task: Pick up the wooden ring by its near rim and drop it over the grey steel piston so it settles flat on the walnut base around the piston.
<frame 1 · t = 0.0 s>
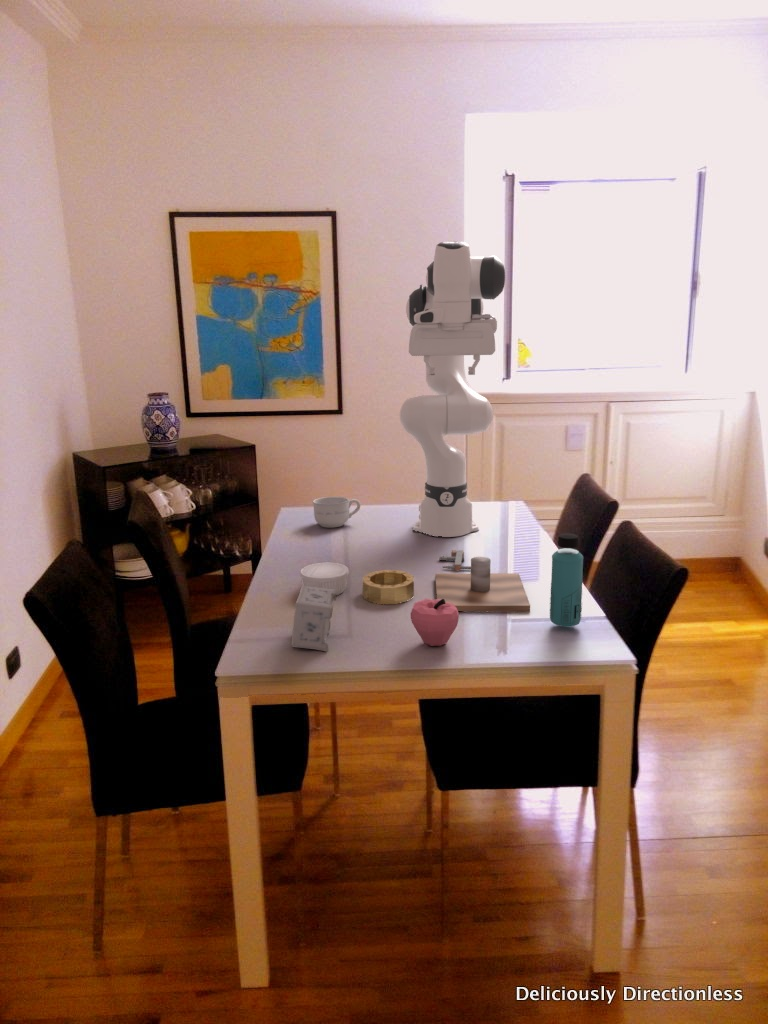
hand: (451, 374, 191), 48 cm above the table, tool pointing down, fingers open, 8 cm apart
clamp: (458, 568, 205), on the table
piston stand: (480, 594, 185), on the table
beverage bottle: (564, 628, 167), on the table
ramekin: (325, 591, 190), on the table
teacup: (337, 525, 241), on the table
apple: (434, 644, 161), on the table
incense holder: (315, 642, 163), on the table
wooden ring: (388, 595, 186), on the table
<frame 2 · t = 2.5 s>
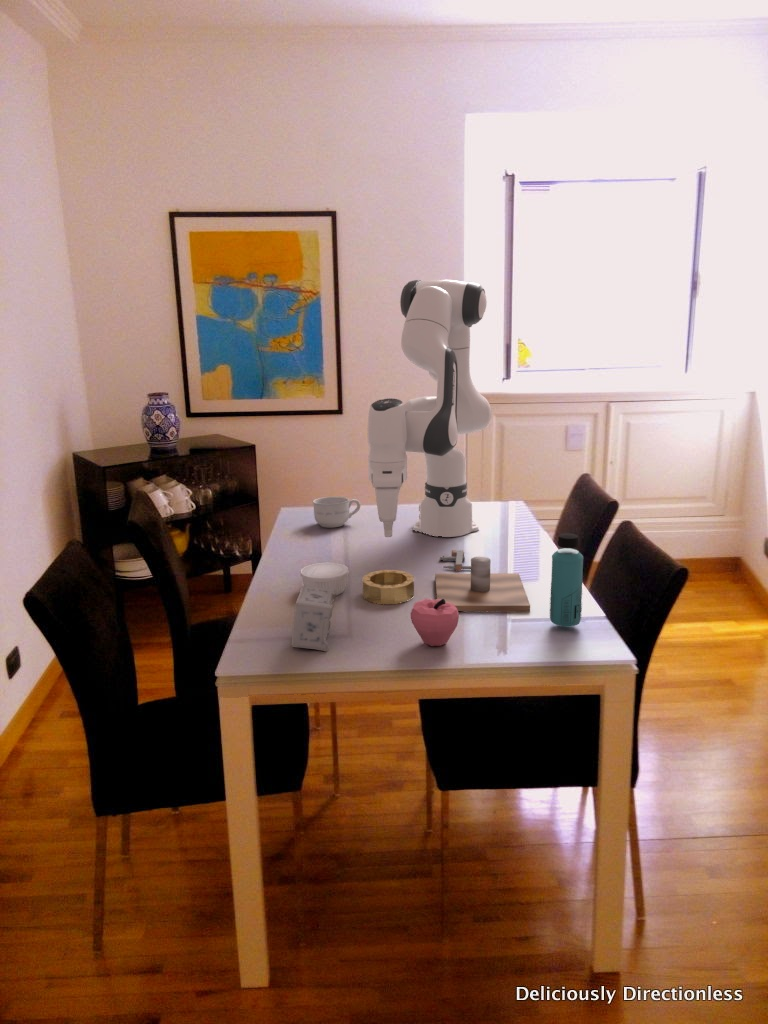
hand: (389, 530, 187), 14 cm above the table, tool pointing down, fingers open, 8 cm apart
nothing on the table moved.
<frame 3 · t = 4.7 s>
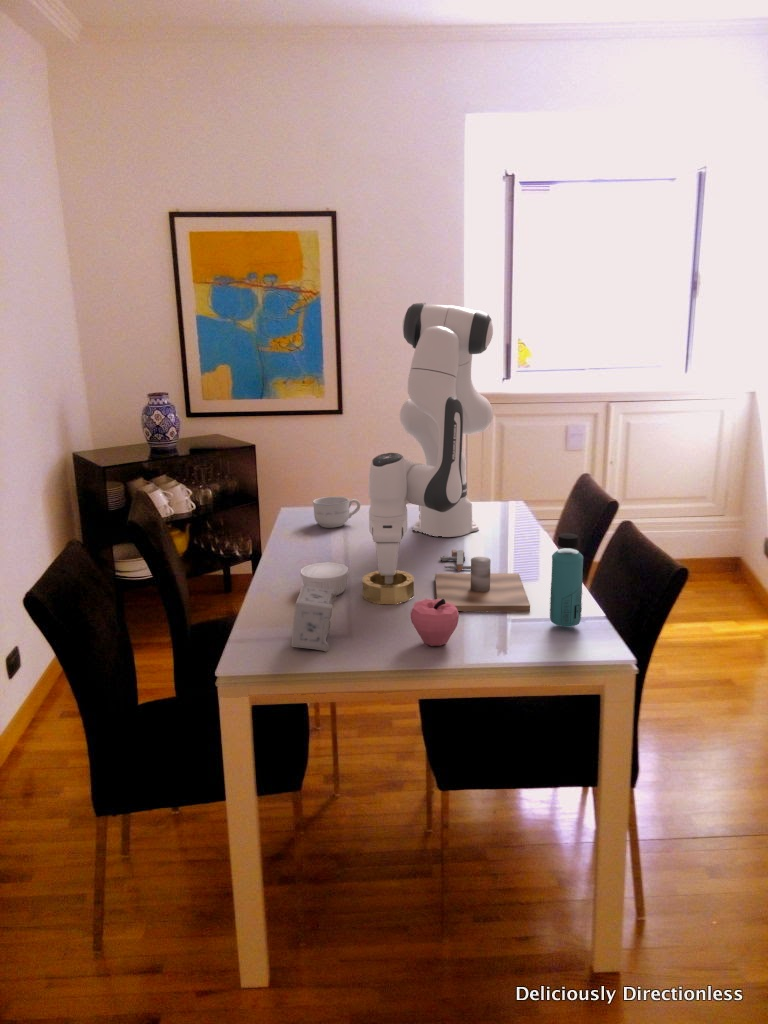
hand: (389, 580, 190), 2 cm above the table, tool pointing down, fingers closed on wooden ring, 2 cm apart
wooden ring: (388, 594, 186), on the table, touching gripper
everything else where it was.
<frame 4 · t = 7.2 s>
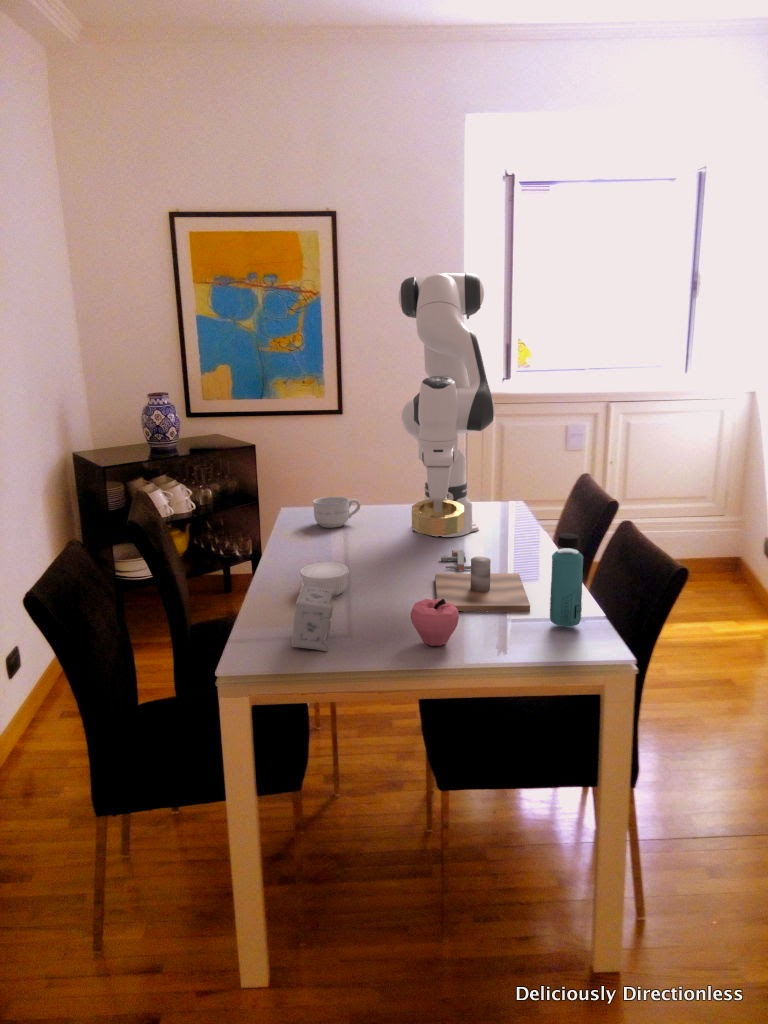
hand: (437, 509, 185), 19 cm above the table, tool pointing down, fingers closed on wooden ring
wooden ring: (437, 525, 181), point 17 cm above the table, tilted 6°, touching gripper
everything else where it was.
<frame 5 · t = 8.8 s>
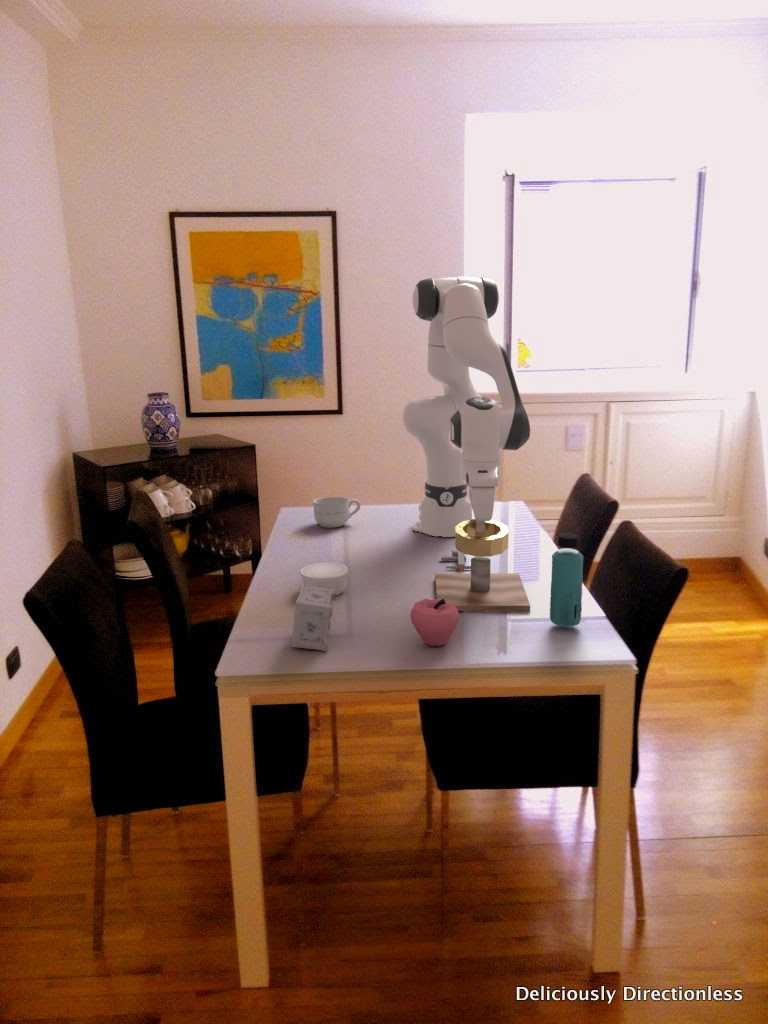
hand: (479, 529, 186), 14 cm above the table, tool pointing down, fingers closed on wooden ring
wooden ring: (481, 545, 182), point 12 cm above the table, tilted 7°, touching gripper
everything else where it was.
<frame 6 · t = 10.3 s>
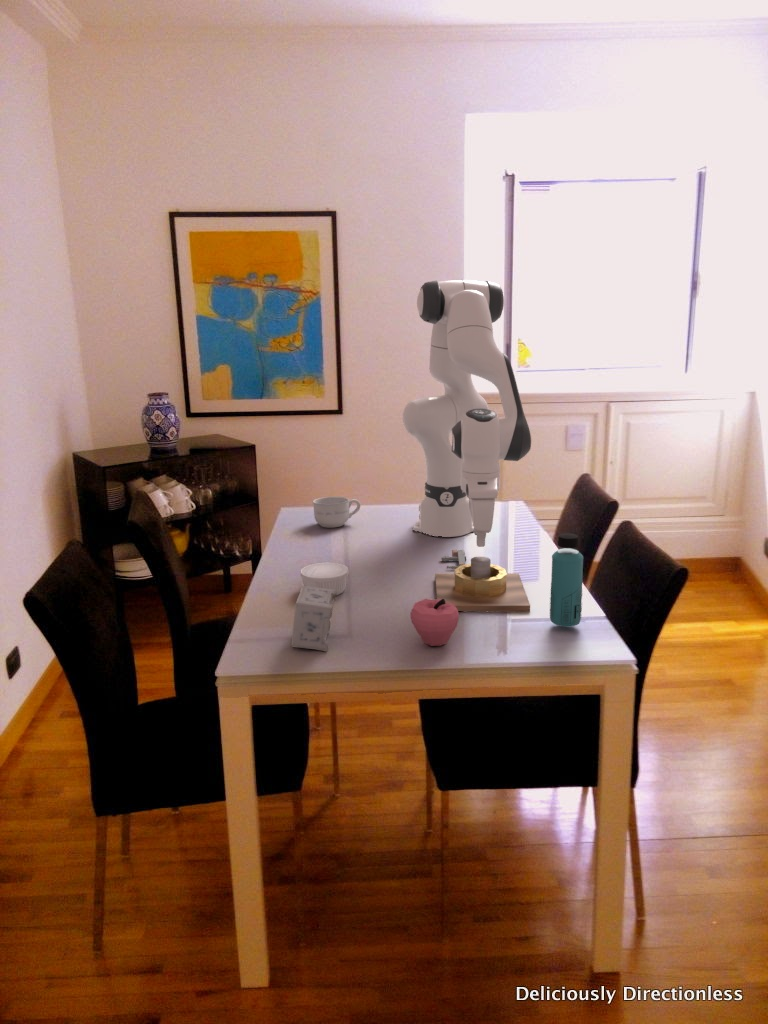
hand: (479, 540, 187), 12 cm above the table, tool pointing down, fingers open, 7 cm apart
wooden ring: (480, 588, 185), point 1 cm above the table, touching piston stand
everything else where it was.
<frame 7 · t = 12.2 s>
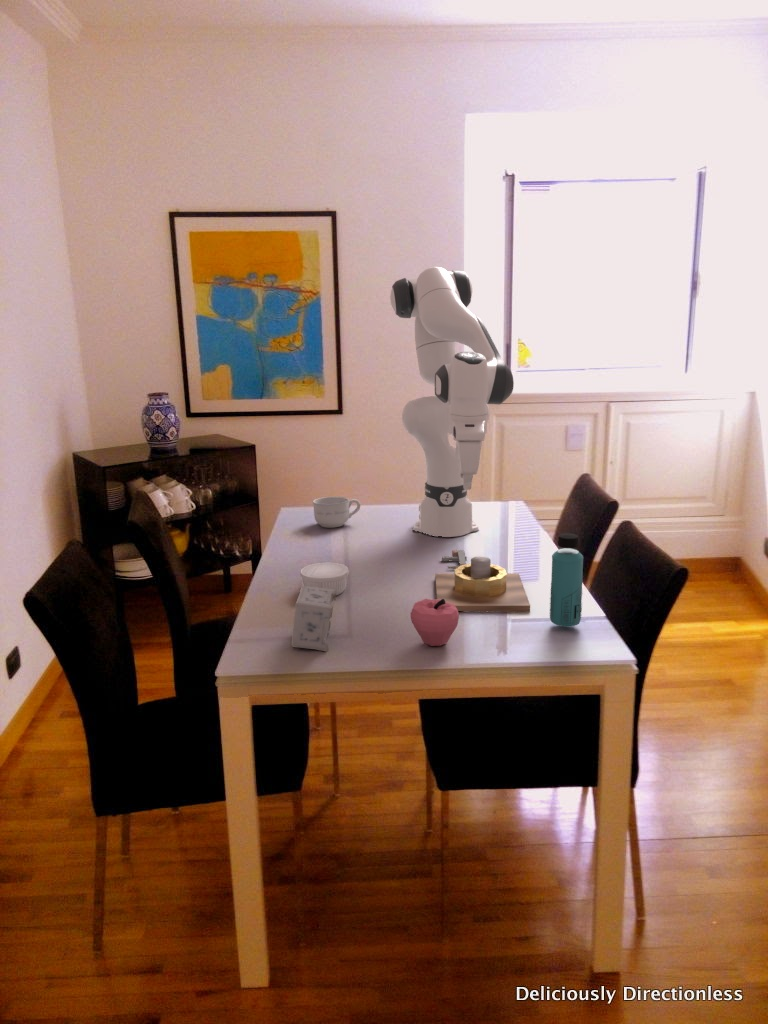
hand: (465, 483, 189), 24 cm above the table, tool pointing down, fingers open, 8 cm apart
nothing on the table moved.
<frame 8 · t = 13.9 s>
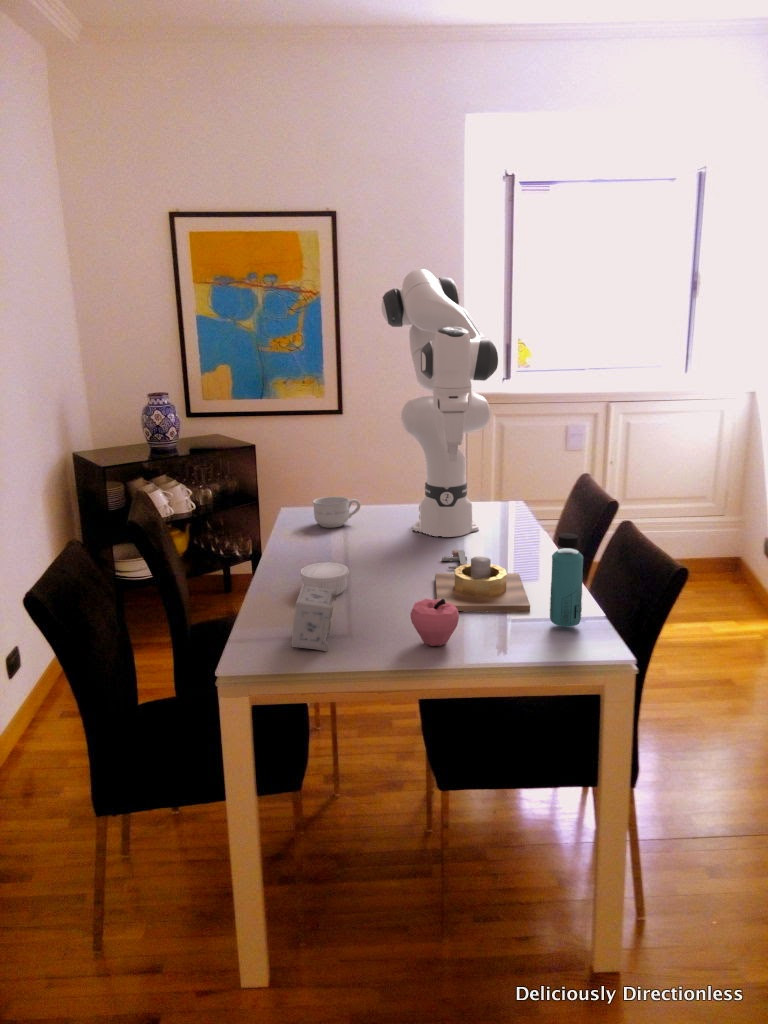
hand: (451, 457, 192), 29 cm above the table, tool pointing down, fingers open, 8 cm apart
at the end: wooden ring 0.3 cm off-centre on the piston stand, point 1.5 cm above the piston stand's base; wooden ring tilted 0°; the gripper is holding nothing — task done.
